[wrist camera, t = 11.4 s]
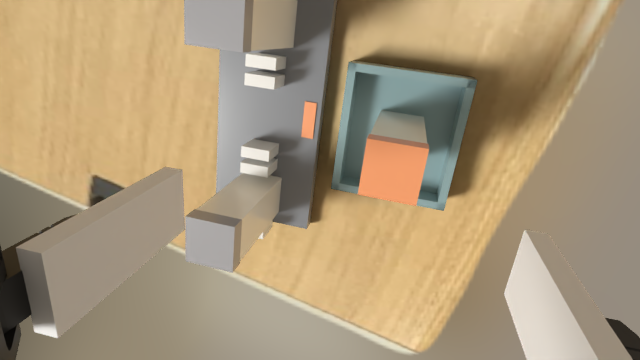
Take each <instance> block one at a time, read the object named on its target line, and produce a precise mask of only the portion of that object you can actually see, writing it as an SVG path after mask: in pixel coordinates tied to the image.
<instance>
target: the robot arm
mask: <svg viewBox="0 0 640 360" xmlns="http://www.w3.org/2000/svg"><path fill="white" fill-rule="evenodd" d="M184 230H185V223H184V198H183V173H182V170H181V169H175V168H169V167H164V168H162V169H160V170H159V171H157V172H155V173H153V174H151V175H149V176H147V177H146V178H144V179H142V180H140V181H138V182H136V183H134V184H133V185H131V186H129V187H127V188H125V189H123V190H121V191H120V192H118V193H116V194H114V195H112V196H110V197H108V198H107V199H105V200H103V201H101V202H99V203H97V204H95V205H94V206H92V207H90V208H88V209H86V210H84V211H83V212H81V213H79V214H76V215H73V216H70V217H66V218H64V219H62V220H60V221H58V222H56V223H55V224H52V225H51V227H47V228H45V229H43V230H41V231H40V232H39V233H36V234H34V235H32V236H30V237H28V238H26V239H24V240H22V241H20V242H19V243H17V244H15V245H13V246H11V247H9V248H7V249H5V250H4V251H2V250H1V246H0V360H16V355H17V351H18V346H19V342H20V337H21V330H20V326H19V323H20V322H22V321H23V320H24V319H26V318H27V317H28V316H30V315H31V318H32V322H33V327H34V331H35V332H37V333H41V334H44V335H48V336H51V337H55V338H59V337H60V336H61V335H62V334H63V333H65V332H66V331H67V330H68V329H69V328H70V327H72V326H73V325H74V324H75V323H76V322H77V321H78V320H80V319H81V318H82V317H83V316H84V315H86V314H87V313H88V312H89V311H90V310H91V309H93V308H94V307H95V306H96V305H97V304H98V303H100V302H101V301H102V300H103V299H104V298H105V297H107V296H108V295H109V294H110V293H111V292H112V291H114V290H115V289H116V288H117V287H118V286H119V285H121V284H122V283H123V282H124V281H125V280H126V279H128V278H129V277H130V276H131V275H132V274H133V273H135V272H136V271H137V270H138V269H139V268H140V267H142V266H143V265H144V264H145V263H146V262H147V261H148V260H150V259H151V258H152V257H153V256H154V255H155V254H157V253H158V252H159V251H160V250H161V249H163V248H164V247H165V246H166V245H167V244H168V243H170V242H171V241H172V240H173V239H174V238H175V237H177V236H178V235H179V234H180V233H181V232H182V231H184ZM504 295H505V298H506V301H507V304H508V307H509V310H510V312H511V315H512V318H513V321H514V324H515V327H516V330H517V333H518V336H519V339H520V341H521V344H522V347H523V350H524V353H525V356H526V359H527V360H640V338H639V337H638V336H637V335H636V334H635V333H634V332H633V331H632V330H630V329H629V328H628V327H627V326H626V325H624V324H623V323H622V322H620V321H618V320H613V319H608V318H605V317H604V316H603V314H602V313H601V311H600V310H599V309H598V307H597V305H596V304H595V302H594V301H593V300H592V298H591V297H590V295H589V294H588V292H587V291H586V289H585V288H584V286H583V285H582V283H581V282H580V280H579V279H578V277H577V276H576V274H575V273H574V271H573V270H572V268H571V267H570V265H569V264H568V262H567V261H566V259H565V258H564V256H563V255H562V253H561V252H560V250H559V249H558V247H557V246H556V244H555V243H554V241H553V240H552V238H551V237H550V235H549V234H548V233H542V232H537V231H532V230H524V233H523V236H522V240H521V242H520V246H519V249H518V252H517V255H516V258H515V261H514V264H513V267H512V271H511V274H510V277H509V280H508V283H507V286H506V289H505V293H504Z"/></svg>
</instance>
